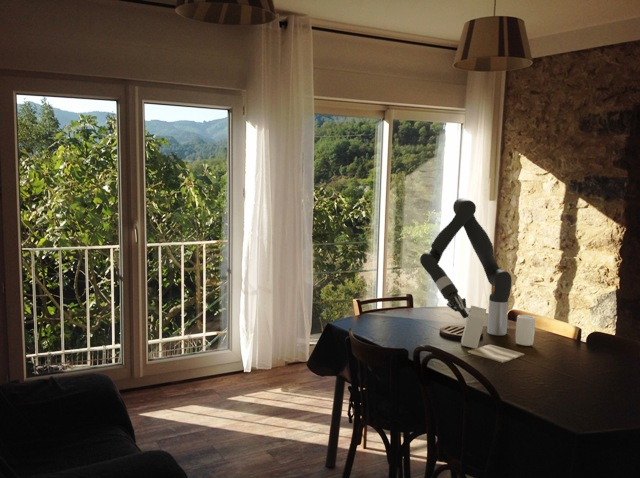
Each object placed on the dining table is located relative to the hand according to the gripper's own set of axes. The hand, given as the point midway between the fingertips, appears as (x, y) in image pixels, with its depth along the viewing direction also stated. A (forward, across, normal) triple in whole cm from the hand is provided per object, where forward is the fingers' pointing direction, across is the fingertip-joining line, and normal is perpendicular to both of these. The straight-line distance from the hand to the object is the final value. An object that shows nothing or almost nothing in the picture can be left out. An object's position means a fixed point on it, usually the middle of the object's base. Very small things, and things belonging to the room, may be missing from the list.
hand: (466, 317), depth 266 cm
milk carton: (+11, 0, +8) cm, 14 cm away
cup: (+22, +24, -2) cm, 33 cm away
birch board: (+21, +1, -2) cm, 21 cm away
